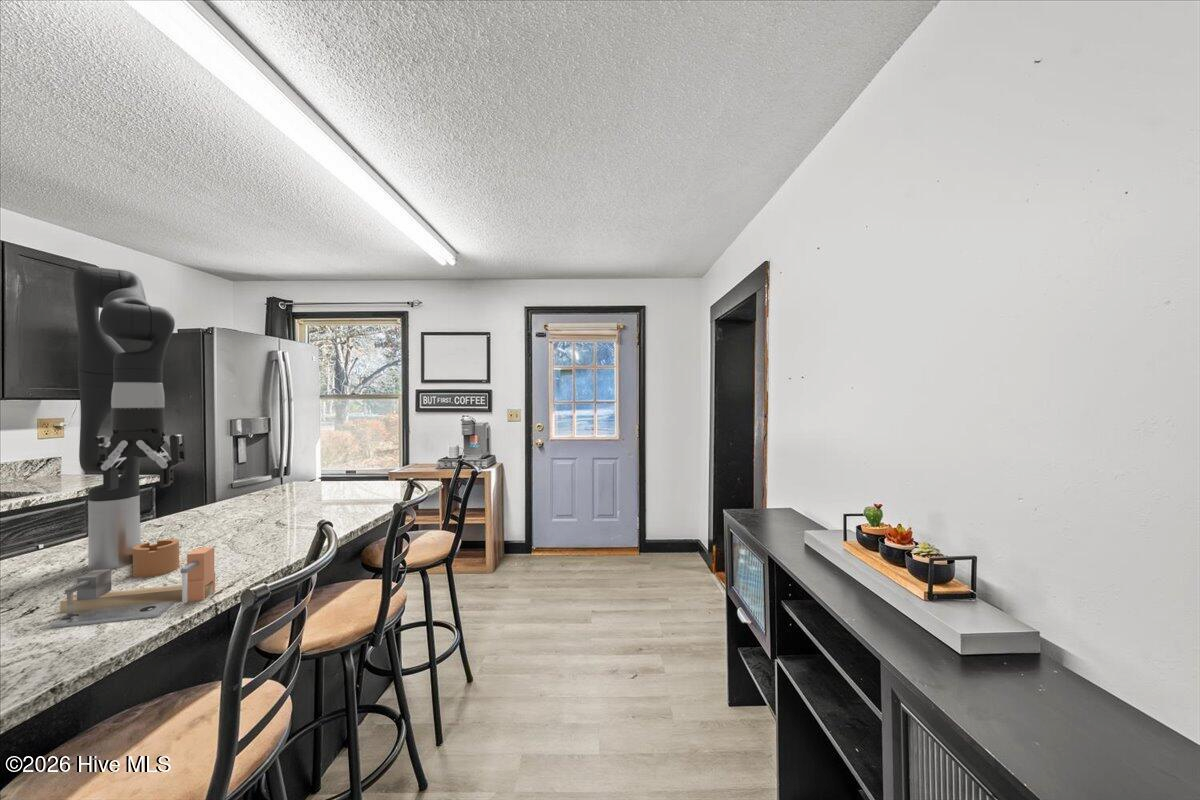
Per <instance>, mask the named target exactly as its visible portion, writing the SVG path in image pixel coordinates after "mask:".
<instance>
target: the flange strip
mask: <svg viewBox="0 0 1200 800" xmlns="http://www.w3.org/2000/svg"><path fill="white" fill-rule="evenodd" d="M175 605H176V601H167V602H157V603H147V604H137V605H128V606H118V607H108V608H98V609H88V610H77V611H73V614H72V615H67V614H66V615H65V616H62V617H61V618H59V620H56V621H55V622H53V623H52V624H50V625H49V626H50V629H56V628H57V629H58V628H67V627H76V626H83V625H84V626H85V625H93V624H94V625H95V624H102V623H104V624H105V623H112V622H113V623H114V622H123V621H125V622H126V621H131V620H132V621H133V620H142V619H153V618H158V617H160V615H163V614H164V613H165V612H166V611H168V610H169V609H171V608H172V607H174V606H175Z"/></svg>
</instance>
